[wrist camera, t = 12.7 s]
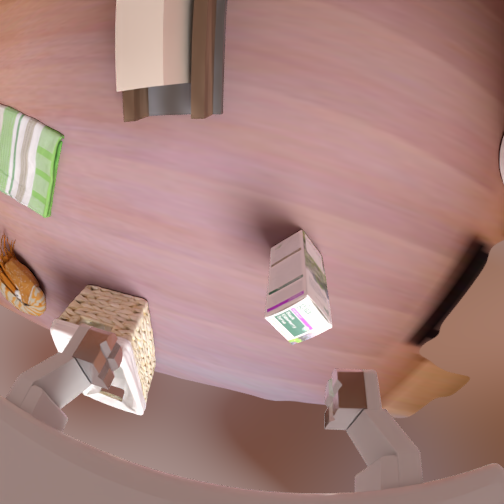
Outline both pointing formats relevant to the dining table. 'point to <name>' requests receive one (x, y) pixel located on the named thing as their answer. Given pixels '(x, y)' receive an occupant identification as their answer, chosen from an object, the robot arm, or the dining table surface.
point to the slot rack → (202, 73)
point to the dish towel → (28, 160)
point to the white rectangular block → (153, 43)
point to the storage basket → (129, 338)
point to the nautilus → (20, 285)
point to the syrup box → (297, 290)
